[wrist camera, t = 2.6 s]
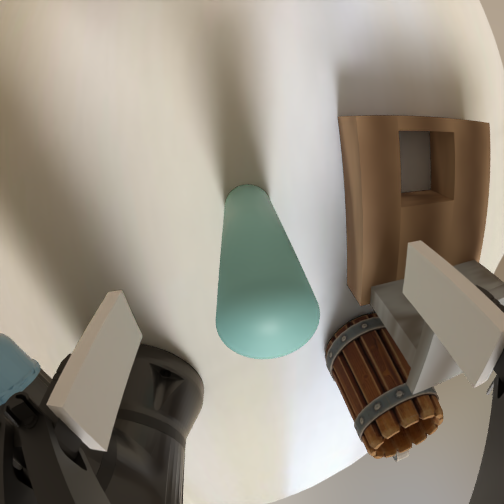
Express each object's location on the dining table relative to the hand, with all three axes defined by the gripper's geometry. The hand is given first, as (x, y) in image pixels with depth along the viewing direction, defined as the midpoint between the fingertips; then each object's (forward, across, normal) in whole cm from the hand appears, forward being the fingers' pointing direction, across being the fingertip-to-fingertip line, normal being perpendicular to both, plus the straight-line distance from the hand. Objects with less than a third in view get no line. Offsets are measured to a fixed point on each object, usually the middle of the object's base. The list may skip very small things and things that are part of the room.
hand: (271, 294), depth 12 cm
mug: (+14, +12, -22) cm, 29 cm away
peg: (+14, 0, 0) cm, 14 cm away
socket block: (+14, +16, -2) cm, 22 cm away
